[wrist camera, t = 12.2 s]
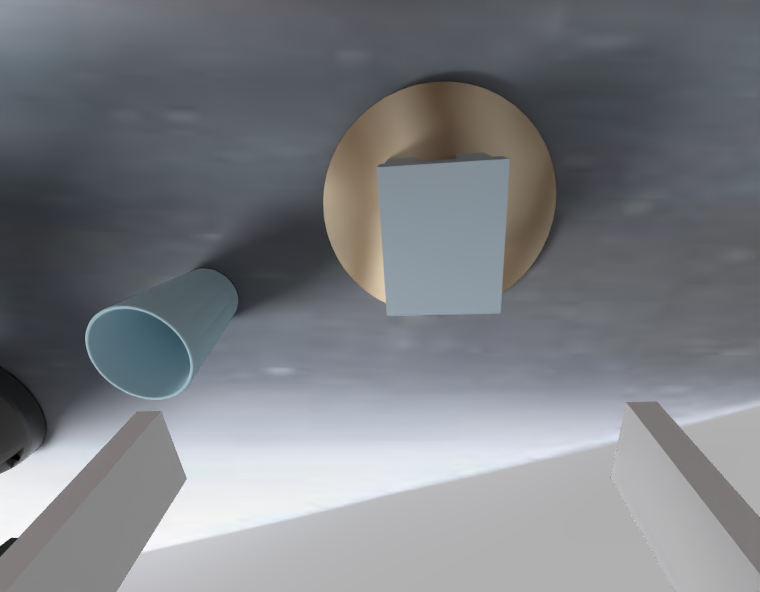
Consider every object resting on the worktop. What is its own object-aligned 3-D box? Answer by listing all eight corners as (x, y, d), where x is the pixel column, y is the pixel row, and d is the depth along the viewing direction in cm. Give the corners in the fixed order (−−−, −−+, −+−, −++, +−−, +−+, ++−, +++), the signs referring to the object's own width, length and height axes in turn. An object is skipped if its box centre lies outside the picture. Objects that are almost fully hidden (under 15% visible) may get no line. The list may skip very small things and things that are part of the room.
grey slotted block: (394, 267, 33) (386, 315, 25) (387, 154, 29) (376, 167, 21) (479, 264, 32) (500, 313, 24) (483, 147, 29) (509, 158, 21)
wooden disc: (338, 311, 36) (336, 316, 35) (311, 93, 29) (308, 92, 28) (540, 306, 34) (543, 311, 34) (565, 71, 27) (570, 70, 26)
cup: (230, 247, 35) (160, 295, 25) (262, 322, 38) (211, 391, 28) (156, 266, 36) (63, 318, 27) (193, 337, 39) (121, 407, 29)
